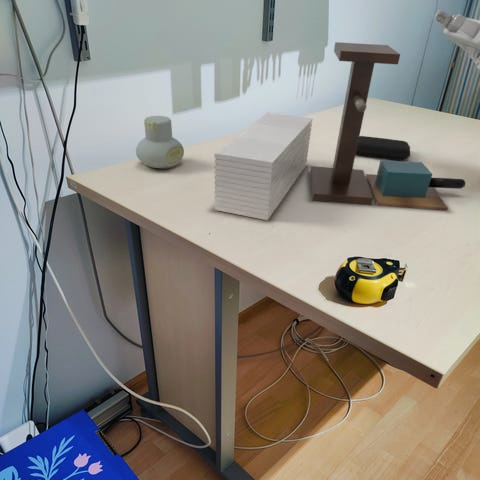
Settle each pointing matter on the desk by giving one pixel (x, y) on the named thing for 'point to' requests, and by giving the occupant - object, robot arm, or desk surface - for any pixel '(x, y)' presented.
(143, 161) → the air freshener
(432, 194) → the cork mat
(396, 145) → the carrying case
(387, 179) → the stamp
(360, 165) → the desk surface
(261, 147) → the stack of papers
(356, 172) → the holder stand
